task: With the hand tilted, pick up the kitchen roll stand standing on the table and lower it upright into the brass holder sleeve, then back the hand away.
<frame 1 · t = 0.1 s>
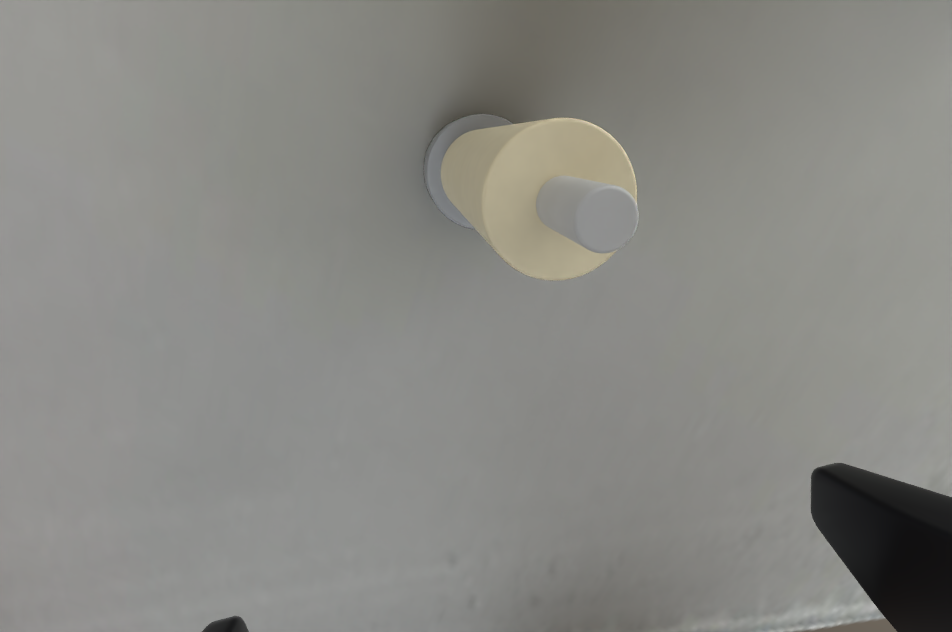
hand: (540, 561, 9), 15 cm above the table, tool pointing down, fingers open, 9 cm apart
kitchen roll stand: (475, 170, 22), on the table
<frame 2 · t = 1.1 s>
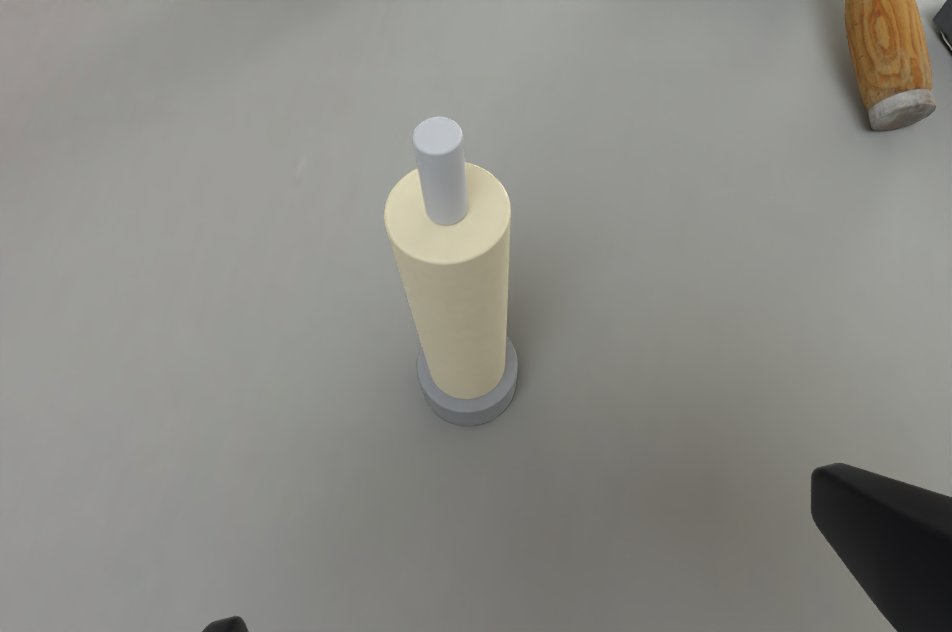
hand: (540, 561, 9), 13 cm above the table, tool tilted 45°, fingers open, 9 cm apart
kitchen roll stand: (469, 380, 24), on the table
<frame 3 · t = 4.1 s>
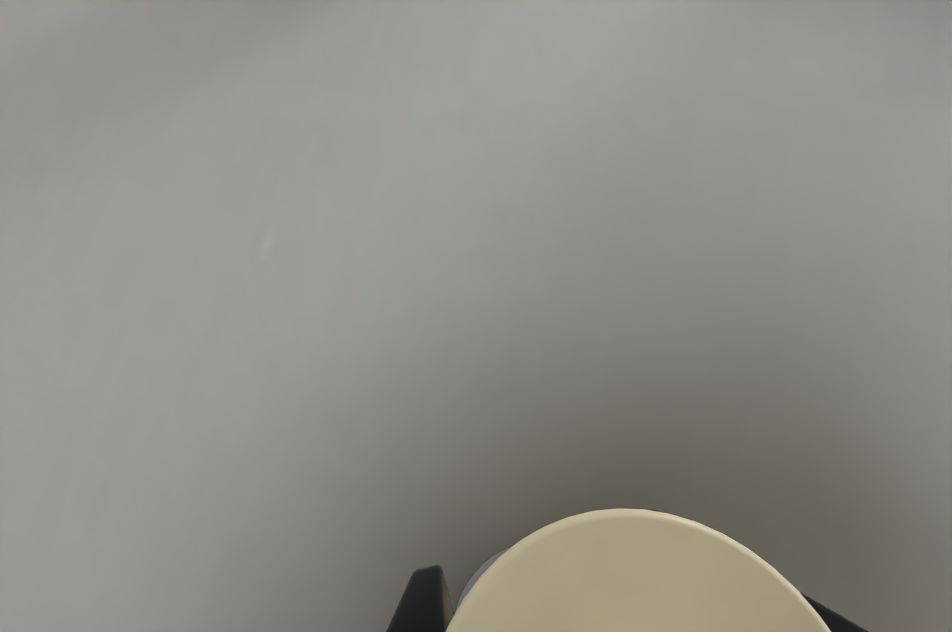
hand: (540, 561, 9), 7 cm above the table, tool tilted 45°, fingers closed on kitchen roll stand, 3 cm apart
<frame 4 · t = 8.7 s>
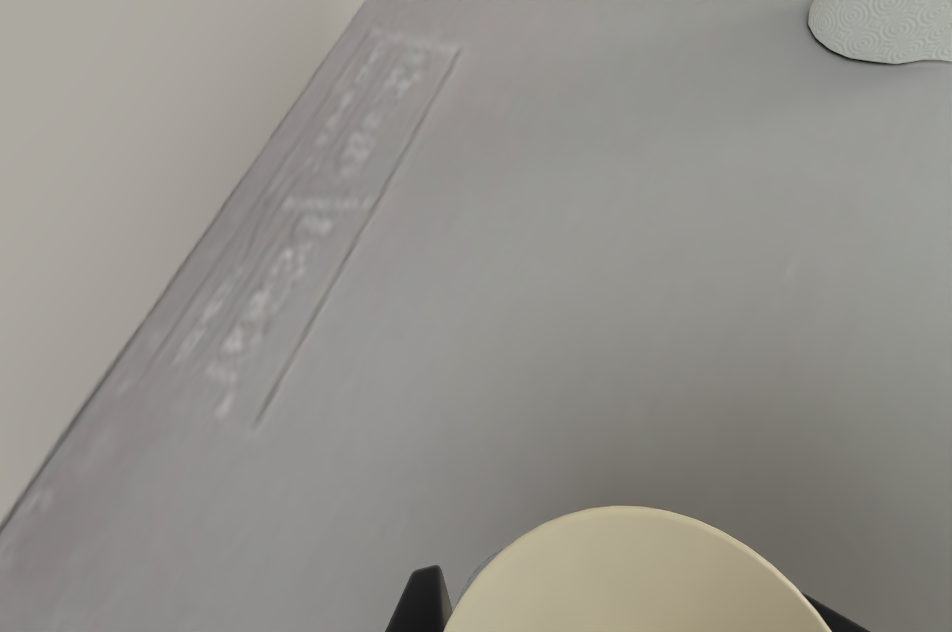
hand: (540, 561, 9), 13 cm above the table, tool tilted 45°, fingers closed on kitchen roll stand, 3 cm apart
kitchen roll stand: (535, 631, 14), point 6 cm above the table, touching gripper
paper towel roll: (862, 38, 33), on the table
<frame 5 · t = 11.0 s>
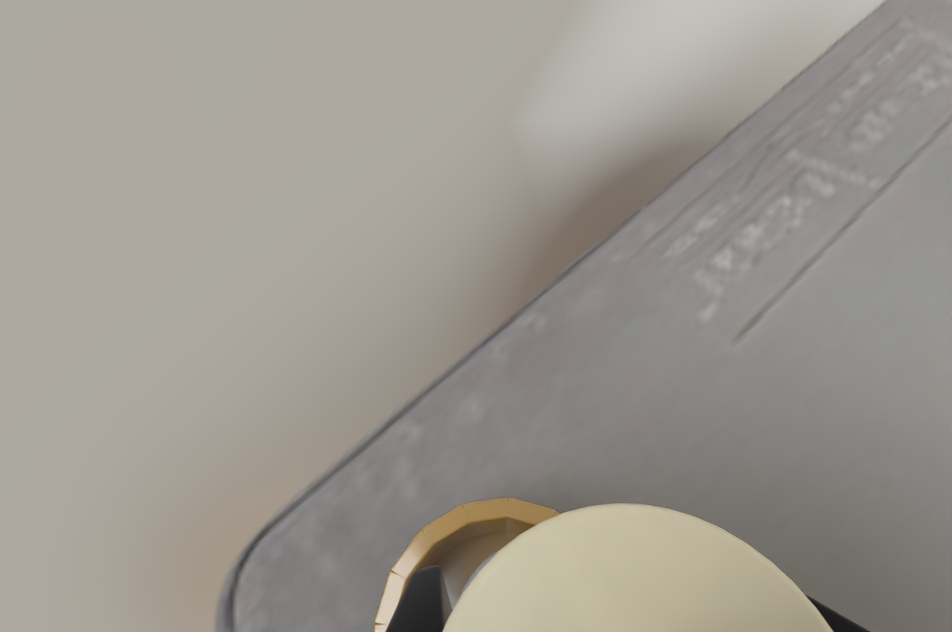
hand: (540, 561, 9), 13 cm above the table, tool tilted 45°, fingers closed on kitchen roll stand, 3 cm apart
kitchen roll stand: (535, 630, 14), point 6 cm above the table, touching gripper
holder: (501, 623, 20), on the table
when the fingers open (8 cm above the table, at t = 13.3 s): kitchen roll stand stays where it is, resting on holder.
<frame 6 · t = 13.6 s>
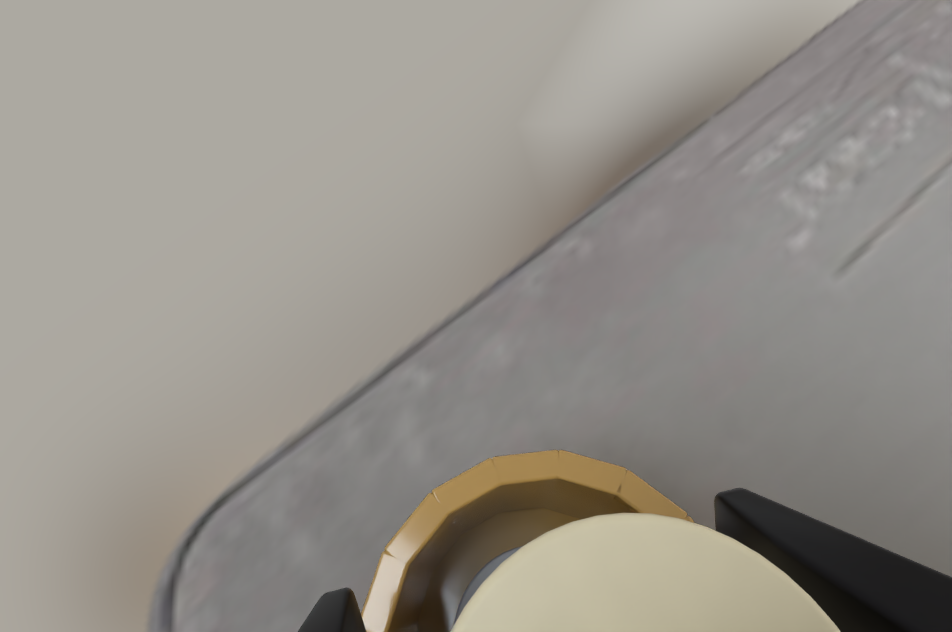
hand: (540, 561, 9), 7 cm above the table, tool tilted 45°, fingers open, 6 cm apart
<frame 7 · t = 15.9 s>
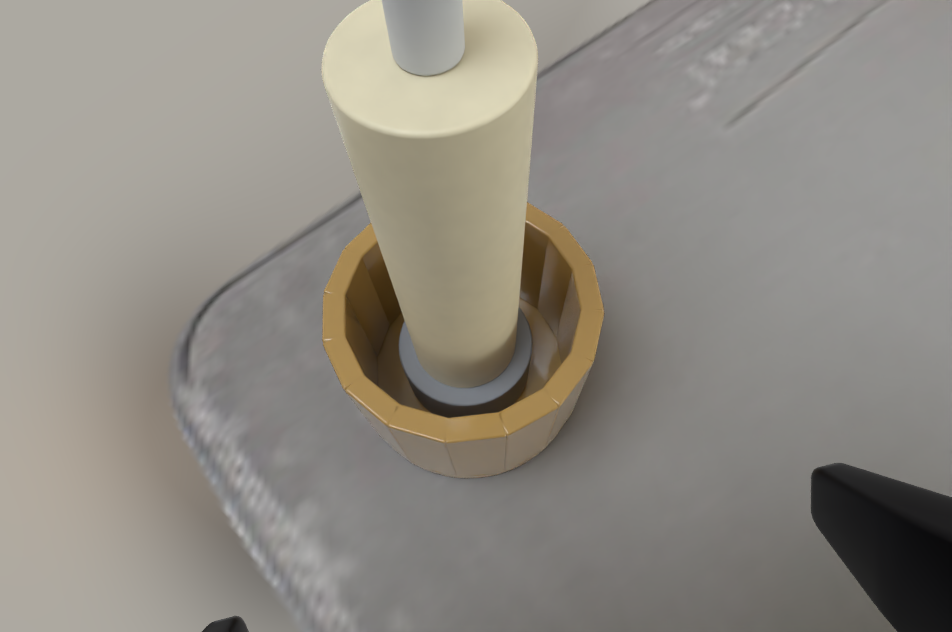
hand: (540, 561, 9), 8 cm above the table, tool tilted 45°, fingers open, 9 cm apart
kitchen roll stand: (468, 364, 18), resting on holder
holder: (469, 369, 19), on the table
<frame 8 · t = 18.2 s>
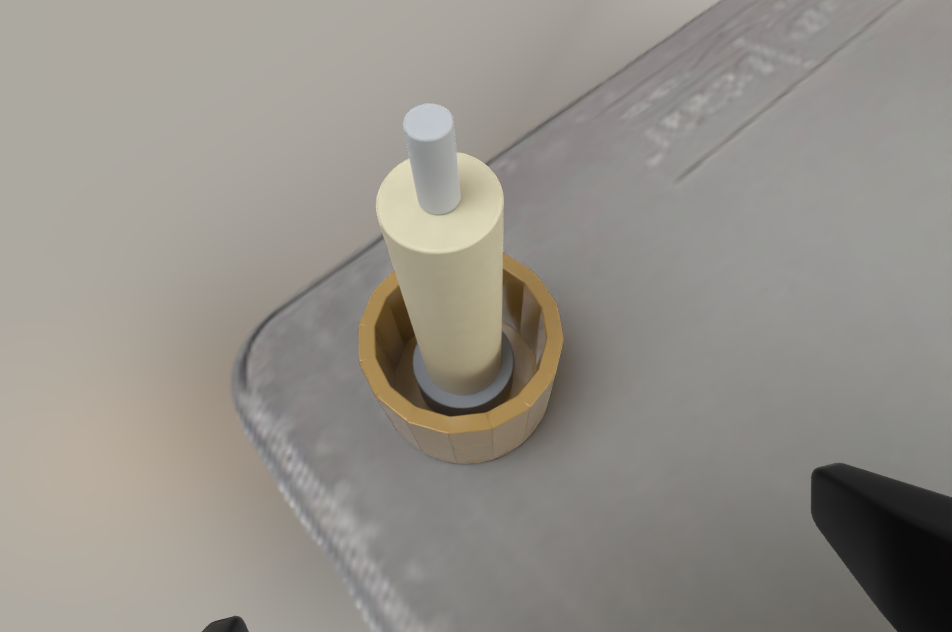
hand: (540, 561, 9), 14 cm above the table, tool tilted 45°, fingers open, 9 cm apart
kitchen roll stand: (465, 376, 24), resting on holder
holder: (466, 380, 24), on the table
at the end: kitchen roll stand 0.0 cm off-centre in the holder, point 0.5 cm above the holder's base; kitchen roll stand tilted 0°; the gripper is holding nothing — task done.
